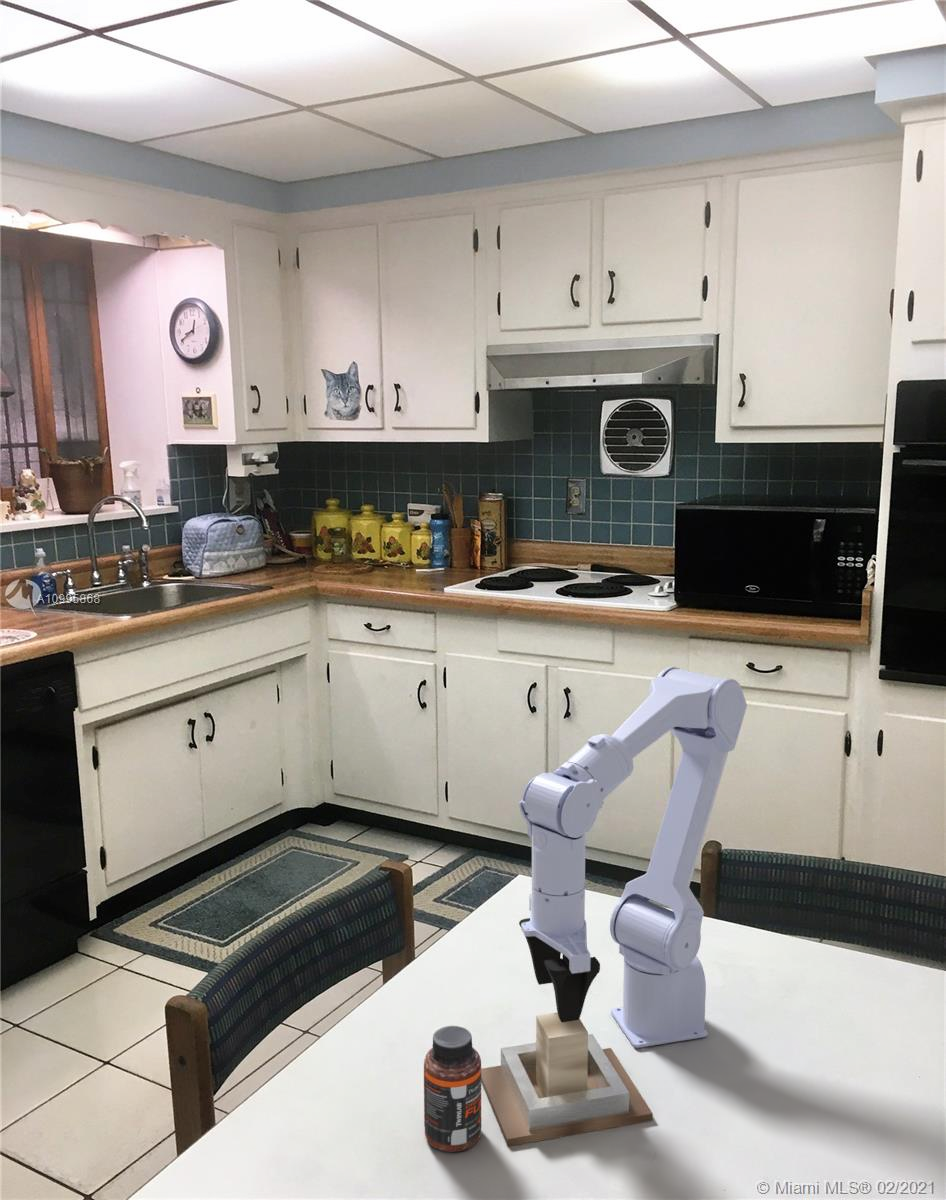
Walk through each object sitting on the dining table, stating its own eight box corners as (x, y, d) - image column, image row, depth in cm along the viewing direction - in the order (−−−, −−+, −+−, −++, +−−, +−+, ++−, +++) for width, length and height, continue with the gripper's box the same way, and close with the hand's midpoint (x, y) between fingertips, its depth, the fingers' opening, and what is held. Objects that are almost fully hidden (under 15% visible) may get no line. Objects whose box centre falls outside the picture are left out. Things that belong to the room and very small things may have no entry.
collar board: (610, 1054, 121) (611, 1028, 120) (652, 1120, 110) (653, 1092, 109) (478, 1075, 117) (478, 1048, 117) (507, 1146, 106) (507, 1117, 105)
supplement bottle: (475, 1159, 104) (474, 1056, 102) (418, 1151, 105) (416, 1050, 103) (486, 1120, 110) (486, 1022, 108) (432, 1113, 111) (430, 1016, 109)
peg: (536, 1081, 115) (536, 1015, 113) (573, 1075, 116) (574, 1009, 114) (548, 1106, 111) (548, 1038, 109) (587, 1099, 112) (588, 1032, 110)
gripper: (503, 861, 117) (504, 971, 120) (544, 920, 103) (543, 1043, 106) (562, 854, 119) (562, 963, 121) (610, 911, 105) (608, 1033, 107)
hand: (557, 1000), depth 114 cm, fingers open, 7 cm apart
